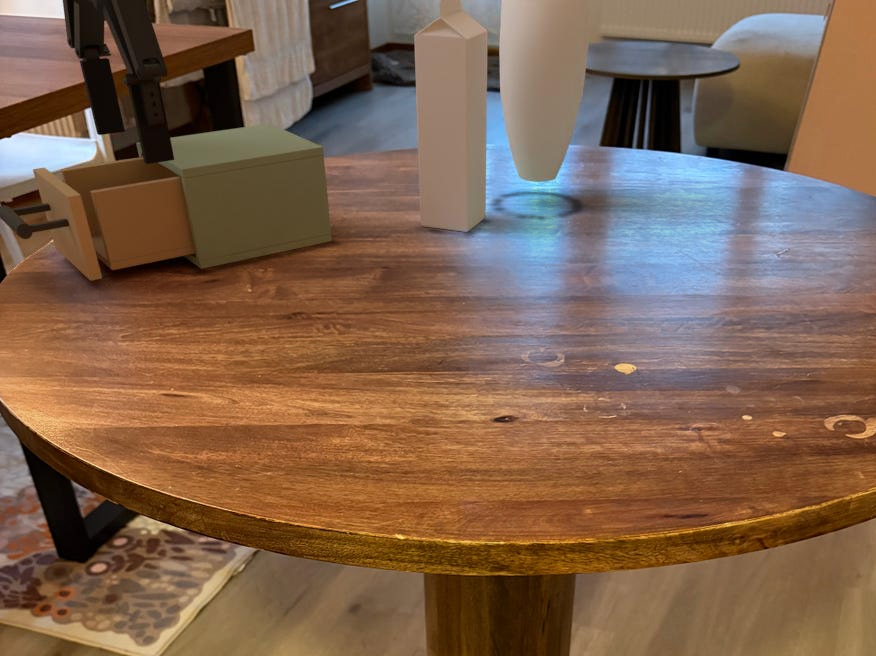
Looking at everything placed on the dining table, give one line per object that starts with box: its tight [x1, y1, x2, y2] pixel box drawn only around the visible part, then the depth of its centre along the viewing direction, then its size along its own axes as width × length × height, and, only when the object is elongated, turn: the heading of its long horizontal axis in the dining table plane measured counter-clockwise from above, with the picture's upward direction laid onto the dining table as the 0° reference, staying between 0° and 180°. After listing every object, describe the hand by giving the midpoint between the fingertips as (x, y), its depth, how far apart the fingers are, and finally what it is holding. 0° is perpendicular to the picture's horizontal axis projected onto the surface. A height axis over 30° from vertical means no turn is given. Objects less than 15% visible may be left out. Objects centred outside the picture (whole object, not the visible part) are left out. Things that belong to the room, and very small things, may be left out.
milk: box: [413, 0, 489, 233], centre depth 101 cm, size 6×6×22 cm
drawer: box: [0, 156, 195, 281], centre depth 93 cm, size 19×11×8 cm, turn 126°
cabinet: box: [135, 123, 333, 270], centre depth 100 cm, size 16×13×10 cm
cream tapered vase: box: [498, 0, 591, 183], centre depth 107 cm, size 10×10×22 cm
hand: (134, 146), depth 91 cm, fingers open, 13 cm apart
